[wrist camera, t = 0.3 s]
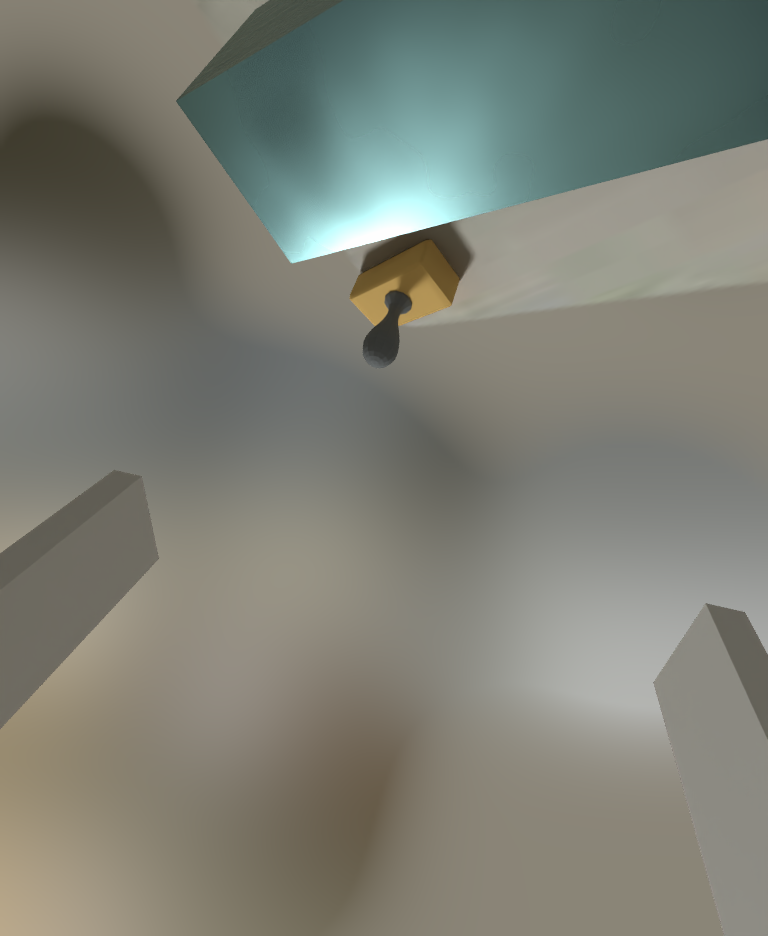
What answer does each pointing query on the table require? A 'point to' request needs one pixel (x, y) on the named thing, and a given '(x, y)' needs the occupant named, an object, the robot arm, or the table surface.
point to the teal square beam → (467, 105)
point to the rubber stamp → (402, 296)
